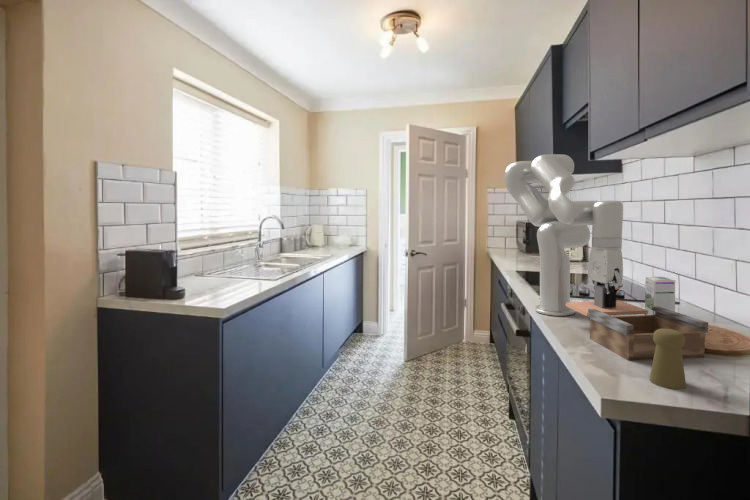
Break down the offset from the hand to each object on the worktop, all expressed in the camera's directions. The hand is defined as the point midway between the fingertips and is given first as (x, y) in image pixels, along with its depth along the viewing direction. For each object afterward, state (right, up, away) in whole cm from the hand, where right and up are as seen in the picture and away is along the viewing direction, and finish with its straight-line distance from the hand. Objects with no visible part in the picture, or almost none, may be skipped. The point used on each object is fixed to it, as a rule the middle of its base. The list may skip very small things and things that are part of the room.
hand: (604, 304), depth 114 cm
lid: (0, -2, 0) cm, 2 cm away
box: (+1, -9, -15) cm, 18 cm away
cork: (-8, -11, -35) cm, 38 cm away
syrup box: (+17, -7, +2) cm, 19 cm away
